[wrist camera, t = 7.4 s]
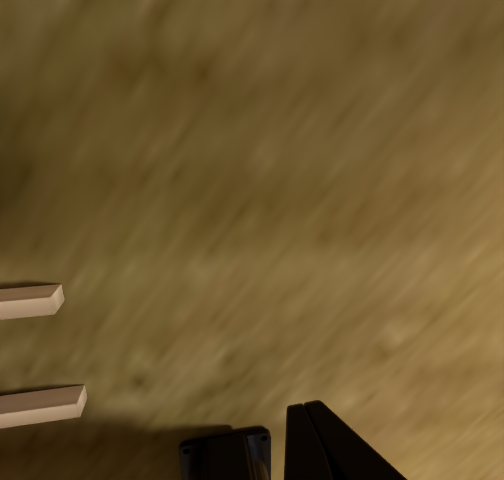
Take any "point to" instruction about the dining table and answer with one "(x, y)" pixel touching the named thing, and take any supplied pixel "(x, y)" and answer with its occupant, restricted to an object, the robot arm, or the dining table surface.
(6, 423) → the guide track
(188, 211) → the dining table surface
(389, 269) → the dining table surface
